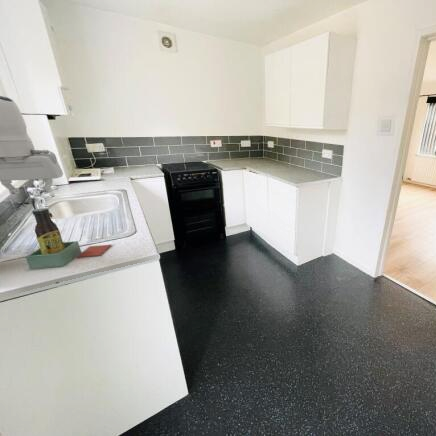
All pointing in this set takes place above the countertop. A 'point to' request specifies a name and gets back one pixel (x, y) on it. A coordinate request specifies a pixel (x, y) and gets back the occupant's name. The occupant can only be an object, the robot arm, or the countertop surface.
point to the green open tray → (54, 256)
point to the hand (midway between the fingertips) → (31, 192)
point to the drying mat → (94, 251)
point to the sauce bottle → (47, 233)
